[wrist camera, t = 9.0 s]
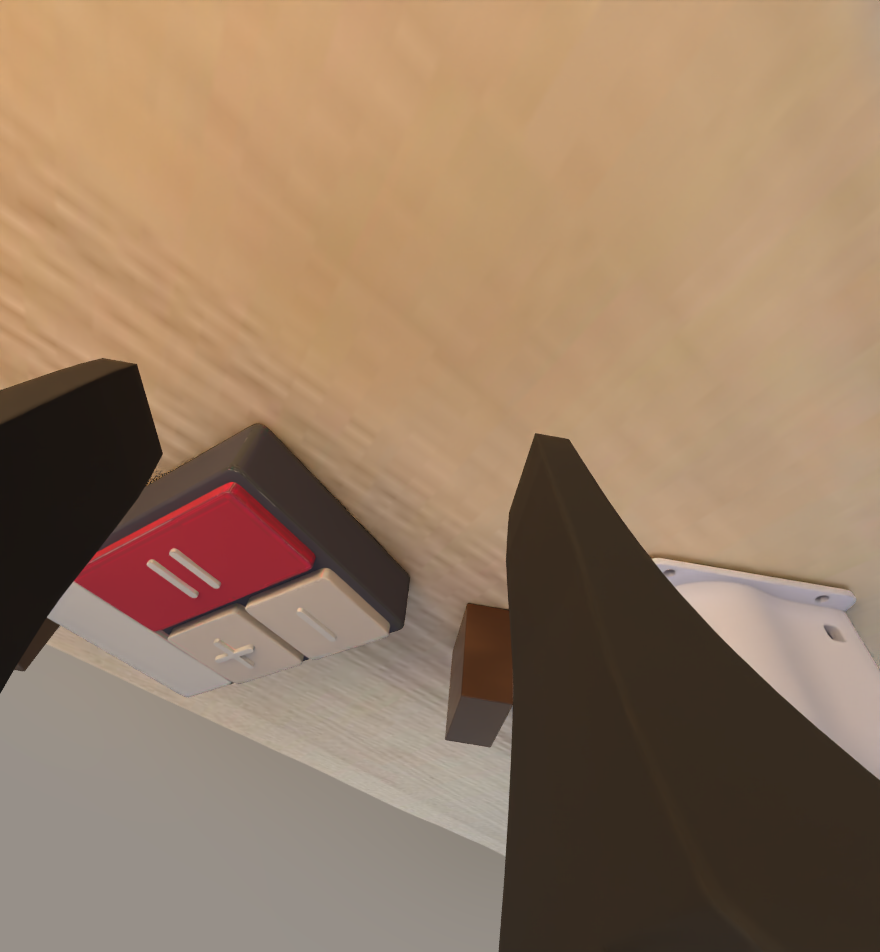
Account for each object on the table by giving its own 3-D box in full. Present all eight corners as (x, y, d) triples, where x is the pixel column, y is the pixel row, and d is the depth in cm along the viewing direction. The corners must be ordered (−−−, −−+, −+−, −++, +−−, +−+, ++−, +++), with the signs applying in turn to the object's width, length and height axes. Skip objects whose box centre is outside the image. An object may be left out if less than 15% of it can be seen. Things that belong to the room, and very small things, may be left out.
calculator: (406, 643, 23) (184, 711, 28) (415, 569, 26) (215, 643, 31) (224, 478, 17) (-10, 603, 22) (266, 410, 20) (53, 534, 26)
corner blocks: (512, 610, 26) (513, 704, 23) (492, 658, 30) (490, 748, 26) (9, 525, 26) (-76, 608, 22) (45, 584, 29) (-23, 664, 25)
